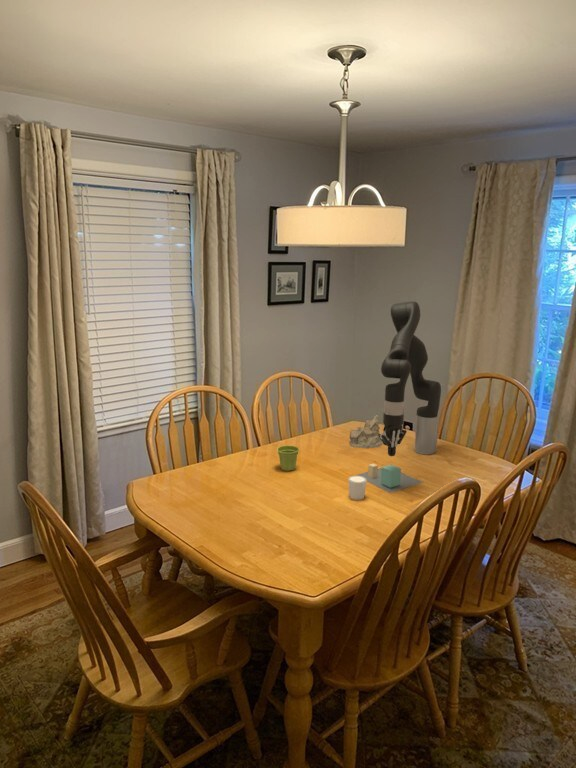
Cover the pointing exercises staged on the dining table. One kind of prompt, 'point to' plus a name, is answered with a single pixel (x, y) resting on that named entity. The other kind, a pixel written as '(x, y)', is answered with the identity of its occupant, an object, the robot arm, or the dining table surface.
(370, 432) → the ceramic cottage
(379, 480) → the board
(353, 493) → the white cylinder
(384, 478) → the teal block
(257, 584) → the dining table surface
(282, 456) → the plant pot
